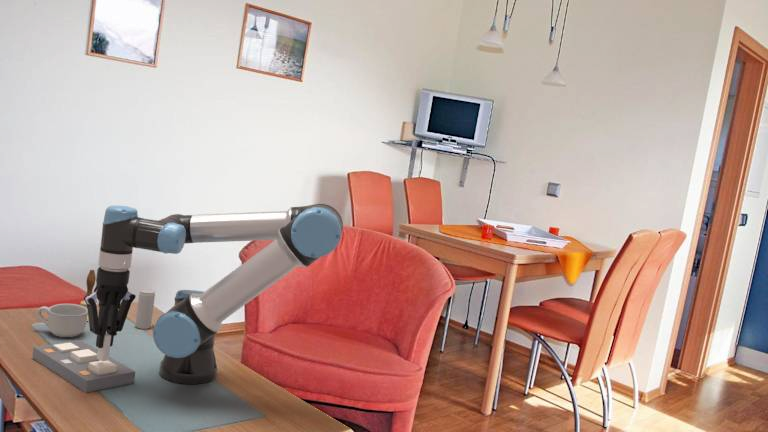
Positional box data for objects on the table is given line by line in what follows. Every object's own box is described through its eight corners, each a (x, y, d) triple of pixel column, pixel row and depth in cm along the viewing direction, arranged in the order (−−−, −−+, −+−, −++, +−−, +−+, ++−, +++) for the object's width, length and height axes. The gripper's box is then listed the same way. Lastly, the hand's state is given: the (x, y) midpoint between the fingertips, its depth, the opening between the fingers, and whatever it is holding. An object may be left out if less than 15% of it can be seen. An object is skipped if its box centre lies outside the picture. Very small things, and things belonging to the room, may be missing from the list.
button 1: (78, 355, 182) (79, 347, 182) (61, 358, 178) (62, 350, 178) (69, 350, 185) (70, 342, 185) (52, 352, 181) (53, 344, 181)
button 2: (115, 373, 171) (116, 365, 171) (98, 377, 167) (99, 368, 167) (105, 367, 174) (106, 359, 174) (87, 371, 170) (88, 362, 170)
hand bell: (79, 313, 223) (85, 265, 221) (104, 317, 223) (110, 270, 221) (67, 319, 214) (72, 270, 213) (92, 323, 214) (98, 274, 213)
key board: (134, 382, 174) (135, 371, 173) (85, 392, 163) (87, 380, 163) (79, 350, 190) (80, 339, 189) (32, 357, 179) (33, 346, 179)
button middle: (96, 362, 177) (97, 354, 176) (79, 365, 173) (80, 357, 173) (87, 356, 179) (88, 348, 179) (69, 359, 176) (70, 351, 175)
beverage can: (135, 324, 220) (139, 288, 218) (150, 325, 221) (155, 289, 220) (135, 329, 215) (139, 292, 214) (151, 330, 217) (155, 293, 216)
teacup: (92, 333, 206) (95, 307, 205) (72, 343, 195) (75, 316, 194) (49, 325, 207) (51, 299, 206) (27, 334, 196) (30, 307, 195)
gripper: (129, 263, 175) (117, 351, 178) (81, 265, 165) (69, 358, 167) (145, 270, 171) (134, 360, 173) (97, 273, 161) (85, 368, 163)
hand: (102, 359), depth 170 cm, fingers closed
